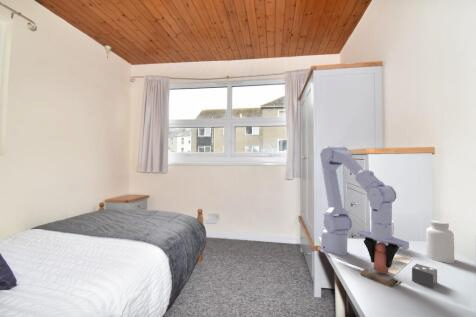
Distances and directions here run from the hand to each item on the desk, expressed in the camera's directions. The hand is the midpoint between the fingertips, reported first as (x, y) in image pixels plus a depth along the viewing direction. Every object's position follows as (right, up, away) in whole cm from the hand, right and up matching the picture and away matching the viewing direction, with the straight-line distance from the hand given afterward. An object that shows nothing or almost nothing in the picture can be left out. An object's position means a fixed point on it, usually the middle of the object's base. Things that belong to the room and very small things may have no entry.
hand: (381, 264), depth 72 cm
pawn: (0, -2, 0) cm, 2 cm away
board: (+8, -4, +6) cm, 11 cm away
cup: (+18, -5, +26) cm, 32 cm away
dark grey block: (+10, -4, -5) cm, 12 cm away
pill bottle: (+31, -5, +13) cm, 34 cm away
